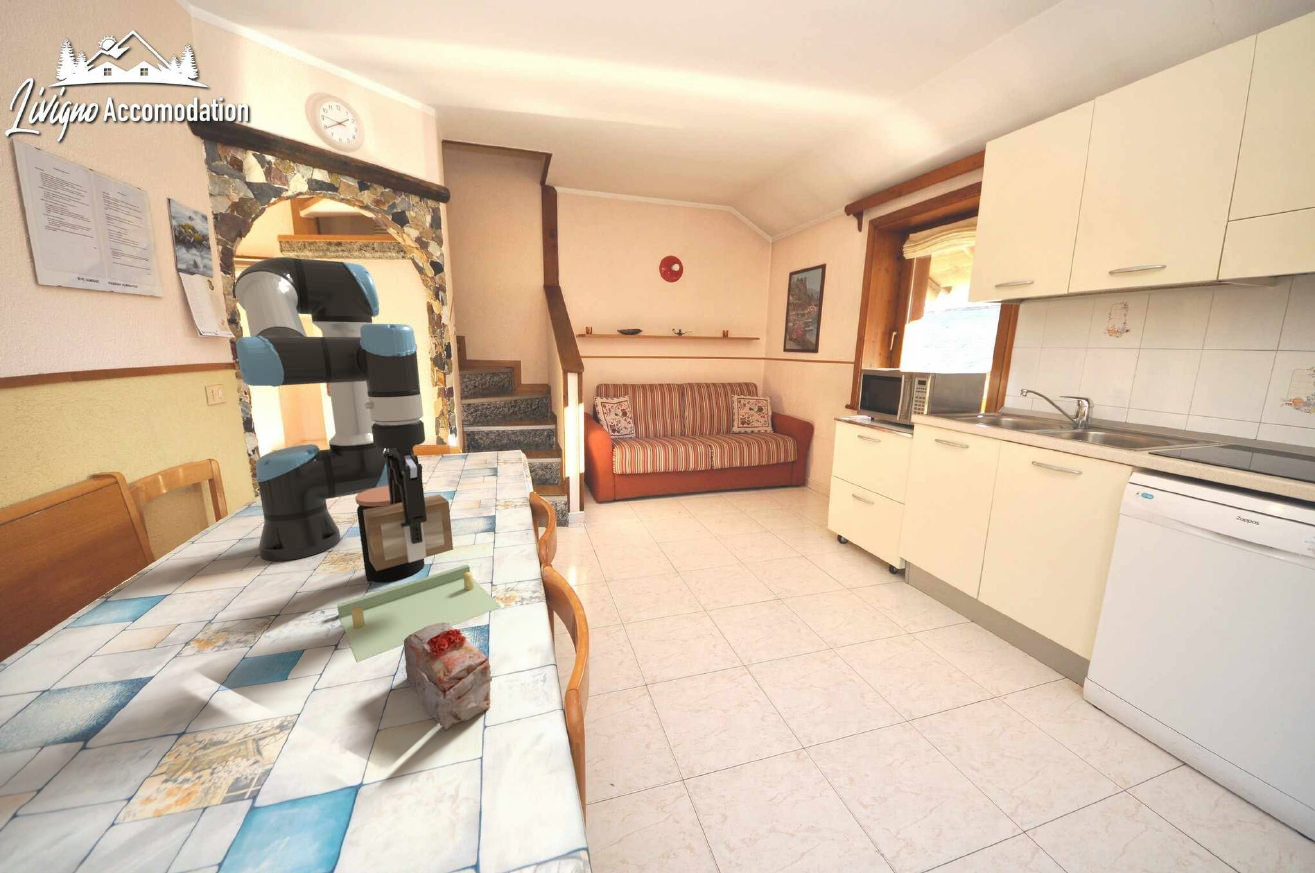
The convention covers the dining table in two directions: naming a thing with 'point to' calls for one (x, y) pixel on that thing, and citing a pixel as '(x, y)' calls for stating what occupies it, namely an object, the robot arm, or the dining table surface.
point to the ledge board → (412, 610)
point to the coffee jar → (395, 573)
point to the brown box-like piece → (390, 536)
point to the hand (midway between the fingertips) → (412, 553)
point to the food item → (447, 673)
